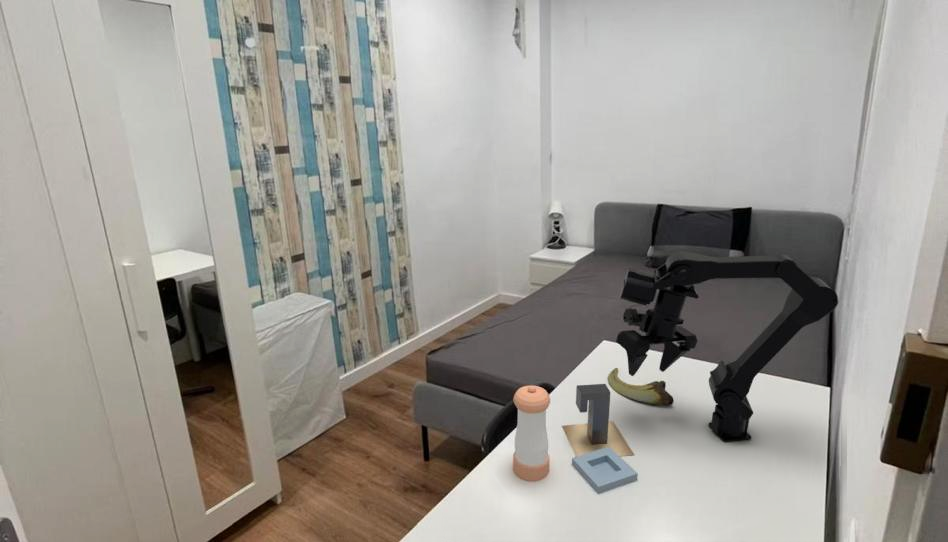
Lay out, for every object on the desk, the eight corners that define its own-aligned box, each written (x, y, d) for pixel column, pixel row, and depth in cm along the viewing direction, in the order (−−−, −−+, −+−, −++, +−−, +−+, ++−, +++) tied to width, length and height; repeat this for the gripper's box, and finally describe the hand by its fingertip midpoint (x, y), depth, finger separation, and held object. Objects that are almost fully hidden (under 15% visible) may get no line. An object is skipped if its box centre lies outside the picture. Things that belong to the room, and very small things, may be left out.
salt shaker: (507, 464, 105) (506, 381, 99) (538, 455, 107) (539, 374, 101) (522, 487, 98) (523, 400, 92) (556, 477, 101) (558, 392, 95)
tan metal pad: (612, 423, 117) (613, 421, 117) (634, 457, 106) (634, 454, 105) (561, 427, 116) (561, 425, 116) (577, 462, 104) (577, 460, 104)
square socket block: (608, 454, 107) (609, 446, 106) (636, 481, 99) (637, 473, 98) (571, 466, 103) (572, 458, 103) (598, 495, 96) (598, 486, 95)
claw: (683, 398, 126) (684, 386, 125) (661, 415, 120) (662, 403, 119) (615, 372, 141) (615, 361, 140) (592, 386, 134) (593, 374, 133)
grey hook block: (602, 434, 112) (605, 383, 108) (607, 443, 109) (610, 392, 105) (574, 436, 112) (576, 385, 108) (578, 445, 109) (580, 394, 105)
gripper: (670, 292, 119) (651, 350, 124) (609, 295, 110) (591, 357, 116) (708, 314, 110) (686, 376, 115) (645, 319, 101) (624, 385, 107)
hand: (646, 372), depth 114 cm, fingers open, 9 cm apart
